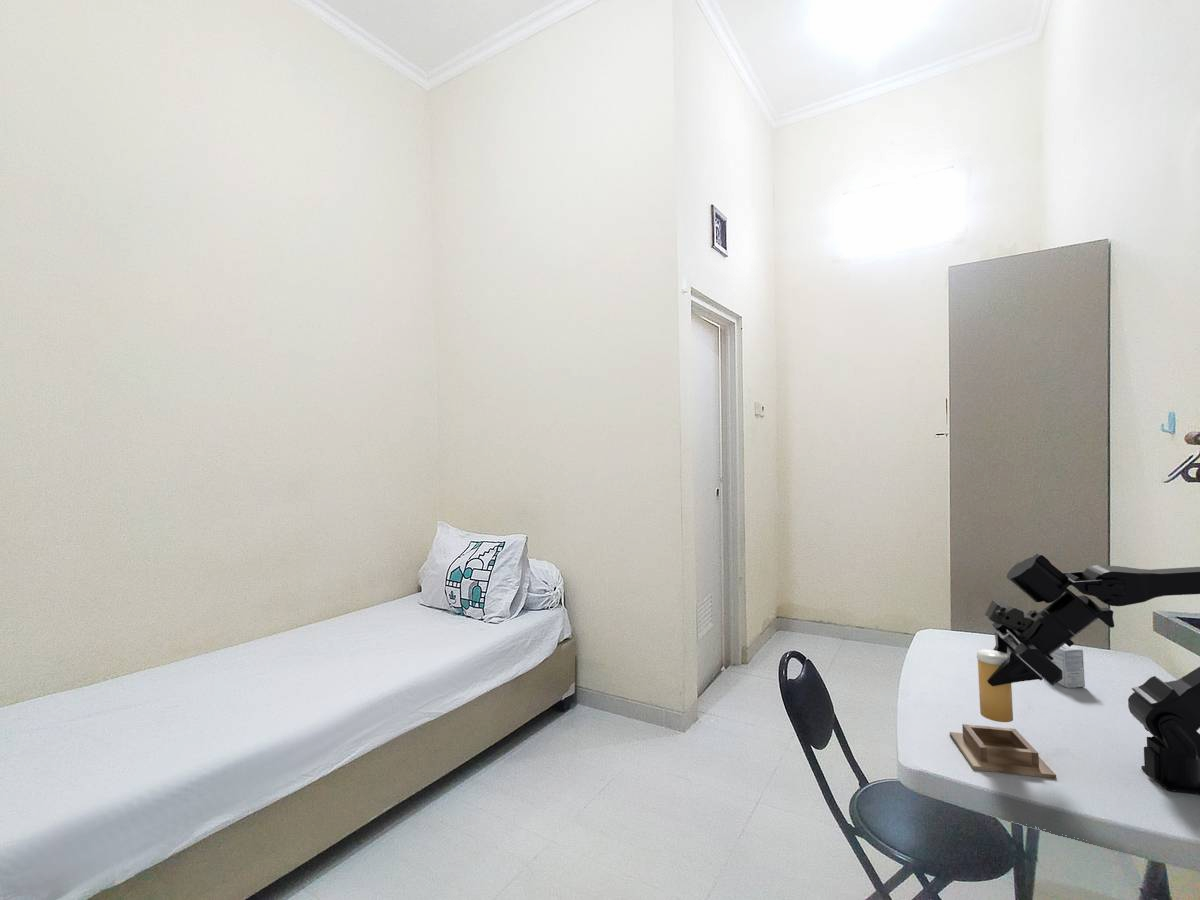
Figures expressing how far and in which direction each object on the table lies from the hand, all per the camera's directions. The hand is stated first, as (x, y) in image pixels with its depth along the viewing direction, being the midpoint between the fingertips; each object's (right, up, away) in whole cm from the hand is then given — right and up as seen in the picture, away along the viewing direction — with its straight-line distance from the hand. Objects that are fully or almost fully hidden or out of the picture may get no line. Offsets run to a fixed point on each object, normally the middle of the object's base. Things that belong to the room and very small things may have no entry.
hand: (985, 678), depth 100 cm
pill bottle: (+1, -7, -1) cm, 7 cm away
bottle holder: (+2, -13, -1) cm, 14 cm away
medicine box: (+38, -13, +29) cm, 50 cm away
